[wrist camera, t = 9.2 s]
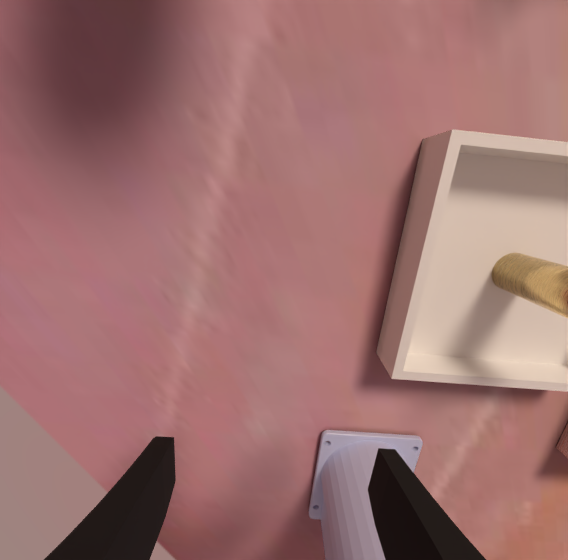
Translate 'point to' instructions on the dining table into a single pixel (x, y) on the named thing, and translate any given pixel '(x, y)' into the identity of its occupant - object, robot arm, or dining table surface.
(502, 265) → the pin
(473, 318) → the tray
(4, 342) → the dining table surface
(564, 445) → the grey square socket block
